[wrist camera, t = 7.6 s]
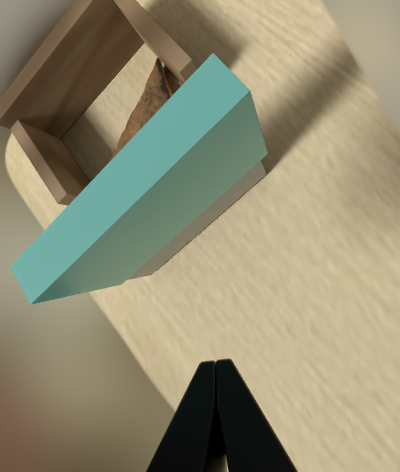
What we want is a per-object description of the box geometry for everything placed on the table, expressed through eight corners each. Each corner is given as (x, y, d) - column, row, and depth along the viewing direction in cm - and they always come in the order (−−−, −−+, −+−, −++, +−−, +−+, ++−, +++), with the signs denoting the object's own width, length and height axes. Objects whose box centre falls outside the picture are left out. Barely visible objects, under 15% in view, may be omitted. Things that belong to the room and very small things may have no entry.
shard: (166, 68, 22) (155, 53, 20) (250, 100, 20) (246, 86, 18) (108, 191, 23) (93, 186, 22) (181, 234, 21) (171, 232, 19)
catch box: (211, 94, 20) (185, 47, 15) (96, 210, 23) (45, 201, 18) (144, 23, 22) (104, -38, 17) (47, 138, 25) (-11, 112, 20)
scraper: (272, 169, 18) (250, 90, 9) (146, 278, 21) (30, 304, 12) (253, 148, 19) (212, 53, 9) (132, 258, 21) (10, 267, 12)
